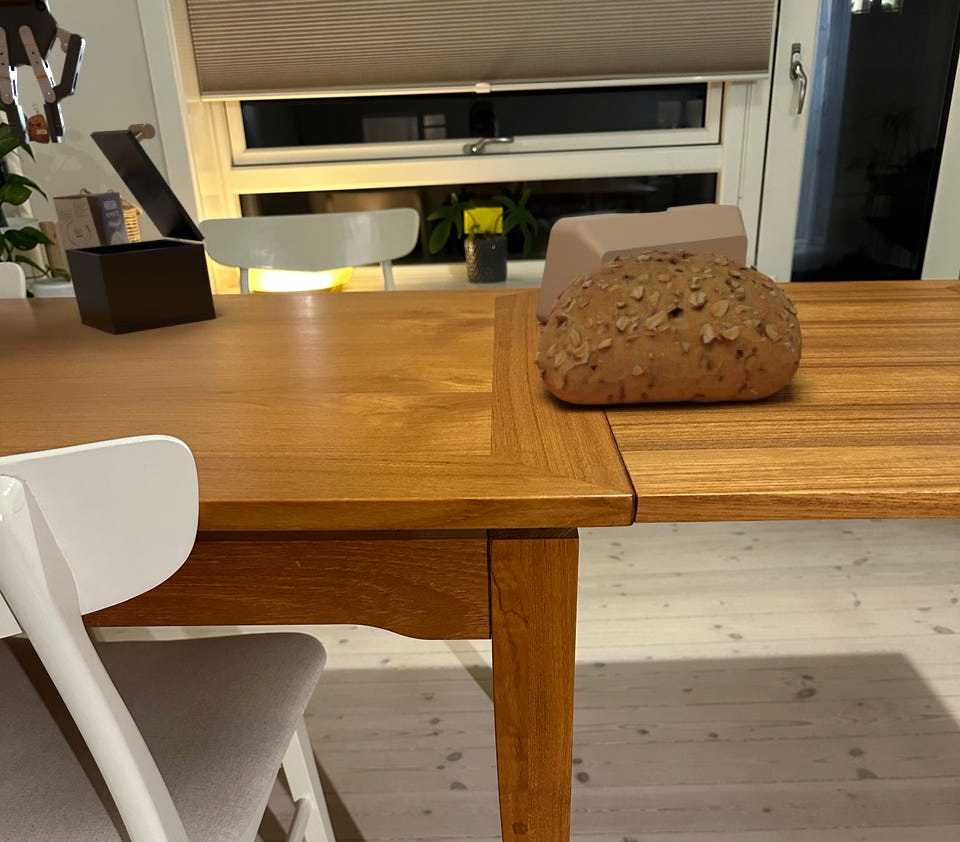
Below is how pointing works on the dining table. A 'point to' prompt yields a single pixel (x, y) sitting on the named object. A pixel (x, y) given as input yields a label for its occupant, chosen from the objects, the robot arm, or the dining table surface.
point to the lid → (146, 180)
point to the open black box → (141, 285)
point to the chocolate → (38, 128)
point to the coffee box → (91, 220)
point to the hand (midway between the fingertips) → (40, 142)
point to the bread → (669, 332)
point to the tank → (636, 241)
